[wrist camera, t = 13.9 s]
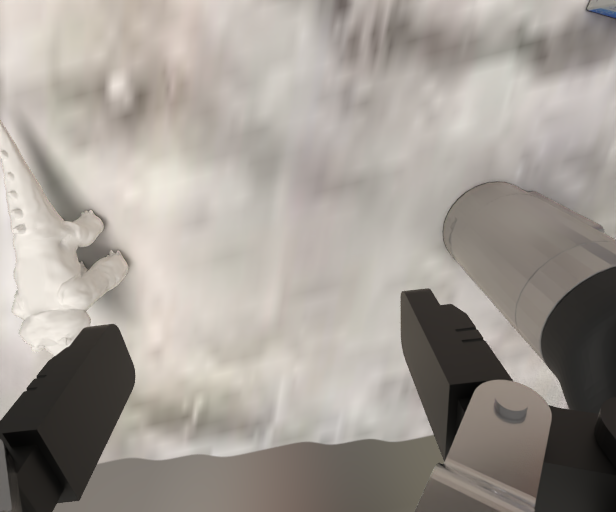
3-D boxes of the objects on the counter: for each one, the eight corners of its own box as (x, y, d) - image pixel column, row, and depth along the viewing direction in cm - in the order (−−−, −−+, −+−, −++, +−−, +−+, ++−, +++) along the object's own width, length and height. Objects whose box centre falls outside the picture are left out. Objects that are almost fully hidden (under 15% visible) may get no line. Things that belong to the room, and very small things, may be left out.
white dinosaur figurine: (101, 343, 43) (41, 417, 33) (-9, 116, 35) (-136, 120, 25) (161, 330, 43) (120, 400, 33) (64, 97, 35) (-33, 93, 24)
